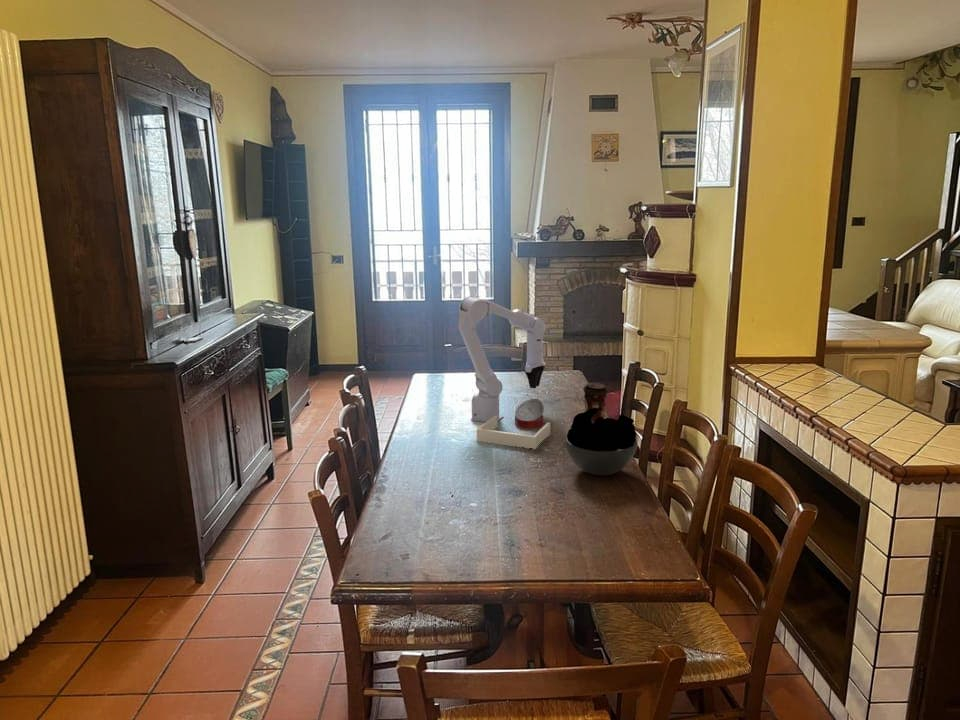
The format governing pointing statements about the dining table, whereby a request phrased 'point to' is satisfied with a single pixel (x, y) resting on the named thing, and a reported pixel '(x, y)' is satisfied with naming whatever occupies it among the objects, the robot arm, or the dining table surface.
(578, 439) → the bowl of black rocks
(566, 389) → the dining table surface
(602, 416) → the coffee cup
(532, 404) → the canned food
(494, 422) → the box
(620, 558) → the dining table surface
